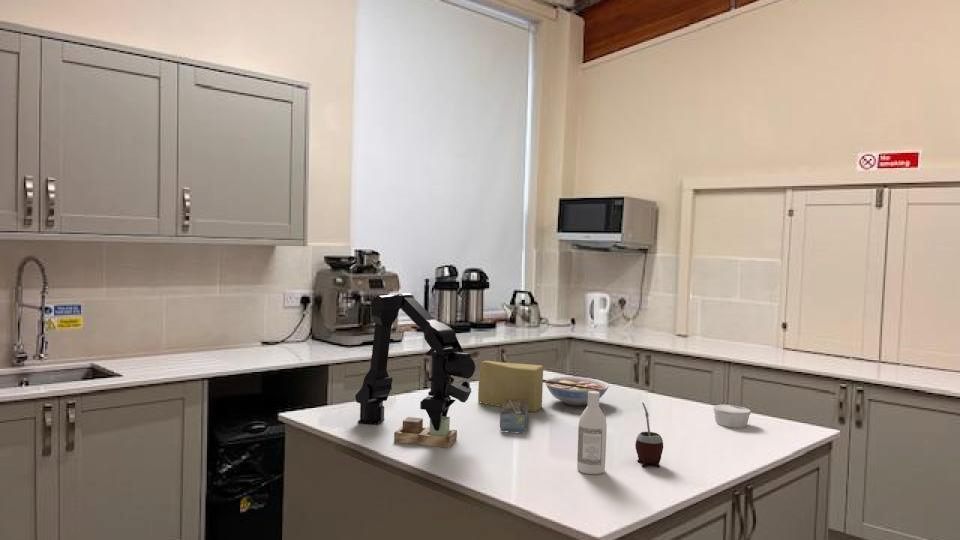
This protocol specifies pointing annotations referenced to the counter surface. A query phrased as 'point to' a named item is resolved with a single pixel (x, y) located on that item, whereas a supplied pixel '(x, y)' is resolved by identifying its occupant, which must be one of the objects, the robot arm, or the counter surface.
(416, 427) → the walnut cube
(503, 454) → the counter surface
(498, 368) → the cheese
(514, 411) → the beverage carton
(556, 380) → the ramen bowl
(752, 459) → the counter surface
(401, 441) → the box
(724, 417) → the ramekin
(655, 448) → the mate gourd
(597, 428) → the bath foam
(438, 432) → the sage cube
